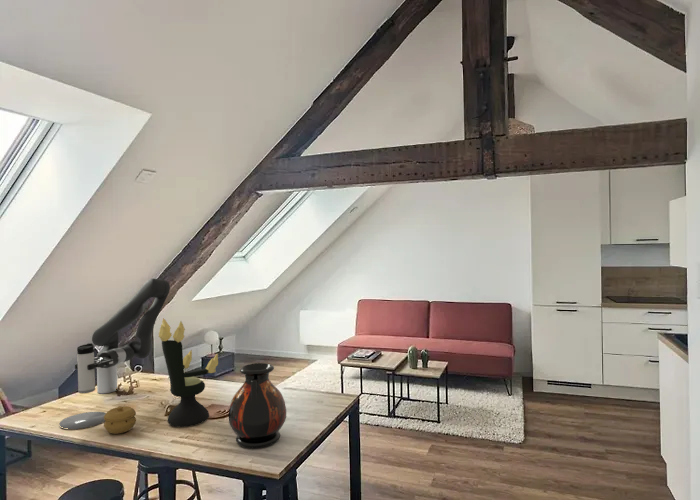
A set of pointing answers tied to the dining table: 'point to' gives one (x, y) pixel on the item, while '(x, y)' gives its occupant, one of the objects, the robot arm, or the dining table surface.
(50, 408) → the dining table surface
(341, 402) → the dining table surface
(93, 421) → the charcoal trivet
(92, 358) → the travel mug
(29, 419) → the dining table surface
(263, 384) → the black and orange vase
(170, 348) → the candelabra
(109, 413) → the pot
